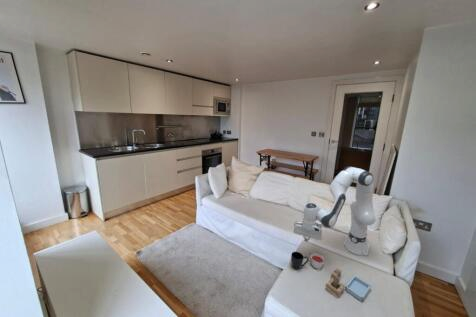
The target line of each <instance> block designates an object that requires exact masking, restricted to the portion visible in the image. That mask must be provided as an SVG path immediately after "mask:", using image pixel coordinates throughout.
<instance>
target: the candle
mask: <svg viewBox="0 0 476 317" xmlns="http://www.w3.org/2000/svg"><path fill="white" fill-rule="evenodd" d="M310 258H311V261H310V262H311V266H313V267H314V268H315V269H318V270H319V269H321V268H323V265H324V262H325V257H324V256H323V255H321V254H319V253H313V254H311V255H310Z"/></svg>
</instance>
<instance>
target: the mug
mask: <svg viewBox="0 0 476 317" xmlns="http://www.w3.org/2000/svg"><path fill="white" fill-rule="evenodd" d="M290 256H291V257H290V261H291V262H290V263H291V265H292V266H291V267H292V268H293V269H294V270H296V271H297V270H300V269H301V268H302V267H304V266H305V265H306V264H307V263H308V262H309V257H308V256H304V255H303V254H302V253H301V252H300V251H292V253H291V255H290ZM304 259H306V261H305V262H304Z"/></svg>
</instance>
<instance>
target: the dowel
mask: <svg viewBox="0 0 476 317" xmlns="http://www.w3.org/2000/svg"><path fill="white" fill-rule="evenodd" d="M339 282H340V278H339V276H337V275H335V276H334V280H333V287H335V288H336V289H338V284H339Z"/></svg>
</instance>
